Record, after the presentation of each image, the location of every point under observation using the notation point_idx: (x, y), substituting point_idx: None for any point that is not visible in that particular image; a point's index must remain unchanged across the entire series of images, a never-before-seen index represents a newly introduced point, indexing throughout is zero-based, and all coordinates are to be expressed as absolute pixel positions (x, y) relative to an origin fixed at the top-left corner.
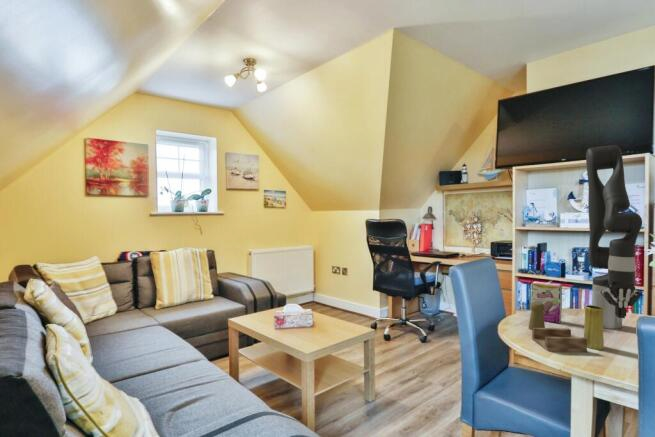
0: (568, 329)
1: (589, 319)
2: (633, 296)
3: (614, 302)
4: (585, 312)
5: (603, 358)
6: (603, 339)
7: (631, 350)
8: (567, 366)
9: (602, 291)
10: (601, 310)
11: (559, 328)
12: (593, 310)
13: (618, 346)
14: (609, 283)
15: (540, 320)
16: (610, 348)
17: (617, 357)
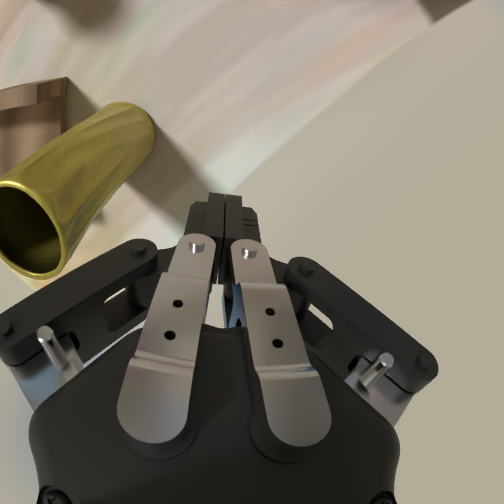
0: (30, 99)
1: (33, 209)
2: (344, 365)
3: (132, 315)
4: (6, 193)
5: (95, 237)
6: (131, 173)
7: (245, 177)
8: (12, 271)
9: (2, 358)
10: (53, 270)
11: (7, 91)
12: (16, 259)
13: (230, 134)
14: (47, 485)
15: None
16: (175, 154)
17: (140, 231)
